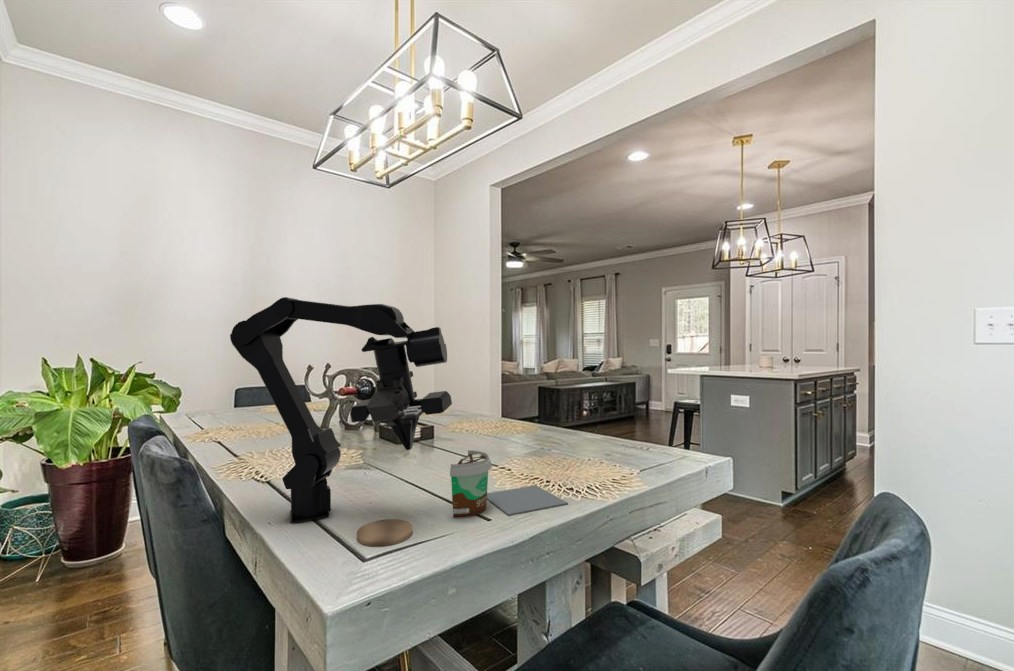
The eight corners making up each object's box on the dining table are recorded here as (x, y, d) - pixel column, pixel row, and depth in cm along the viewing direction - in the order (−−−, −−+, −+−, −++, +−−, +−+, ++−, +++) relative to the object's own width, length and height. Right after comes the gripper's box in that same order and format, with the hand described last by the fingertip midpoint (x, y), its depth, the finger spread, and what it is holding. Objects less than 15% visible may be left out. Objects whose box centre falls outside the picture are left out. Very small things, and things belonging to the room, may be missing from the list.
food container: (483, 522, 84) (482, 466, 84) (450, 520, 85) (449, 465, 85) (498, 499, 96) (497, 450, 96) (469, 498, 97) (468, 449, 97)
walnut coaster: (361, 550, 73) (361, 544, 73) (353, 530, 81) (353, 524, 81) (418, 539, 77) (418, 533, 77) (405, 521, 85) (405, 515, 85)
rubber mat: (508, 515, 87) (508, 514, 87) (481, 495, 98) (481, 494, 98) (568, 504, 92) (568, 502, 92) (535, 486, 104) (535, 485, 104)
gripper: (325, 387, 83) (343, 470, 85) (424, 375, 79) (440, 463, 81) (357, 372, 94) (372, 447, 96) (445, 361, 90) (459, 439, 92)
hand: (409, 449), depth 91 cm, fingers closed
